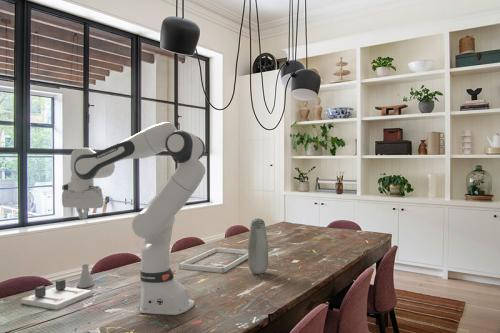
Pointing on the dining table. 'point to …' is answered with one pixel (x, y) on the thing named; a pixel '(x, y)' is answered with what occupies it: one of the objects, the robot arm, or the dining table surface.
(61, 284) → the block
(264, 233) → the grey bottle
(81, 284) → the flask
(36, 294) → the block
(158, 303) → the robot arm
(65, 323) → the dining table surface
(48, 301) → the plate
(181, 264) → the tray
